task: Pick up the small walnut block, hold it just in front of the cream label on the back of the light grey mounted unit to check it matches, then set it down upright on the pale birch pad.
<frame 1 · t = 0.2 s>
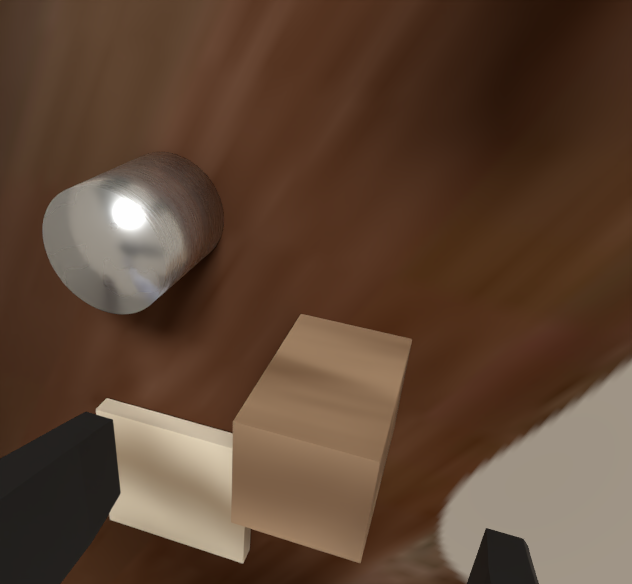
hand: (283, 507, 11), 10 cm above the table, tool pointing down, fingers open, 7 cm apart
birch pad: (180, 476, 26), on the table
round canister: (171, 209, 20), on the table
walnut block: (349, 371, 21), on the table
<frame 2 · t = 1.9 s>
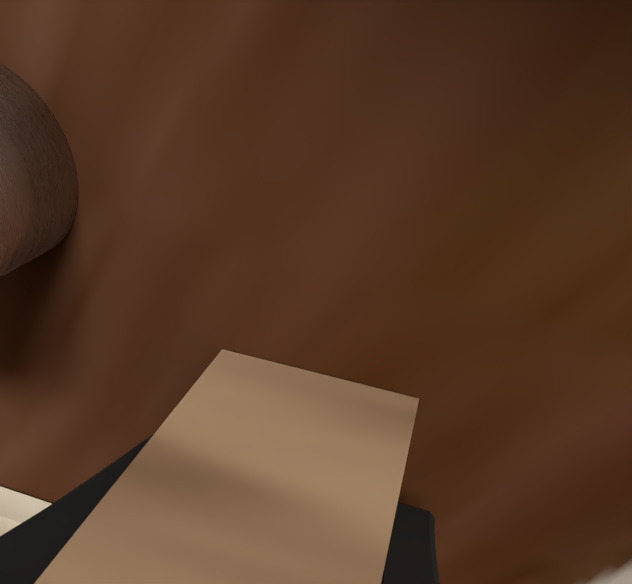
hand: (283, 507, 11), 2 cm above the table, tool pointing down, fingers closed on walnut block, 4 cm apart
birch pad: (66, 583, 17), on the table
walnut block: (308, 449, 12), on the table, touching gripper
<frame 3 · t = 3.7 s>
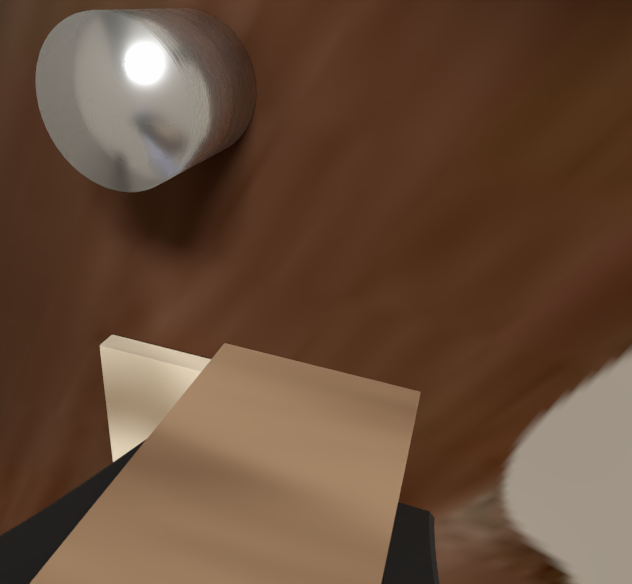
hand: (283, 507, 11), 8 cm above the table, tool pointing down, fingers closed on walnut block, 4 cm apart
birch pad: (197, 427, 23), on the table
round canister: (192, 85, 16), on the table
walnut block: (310, 443, 12), point 7 cm above the table, touching gripper
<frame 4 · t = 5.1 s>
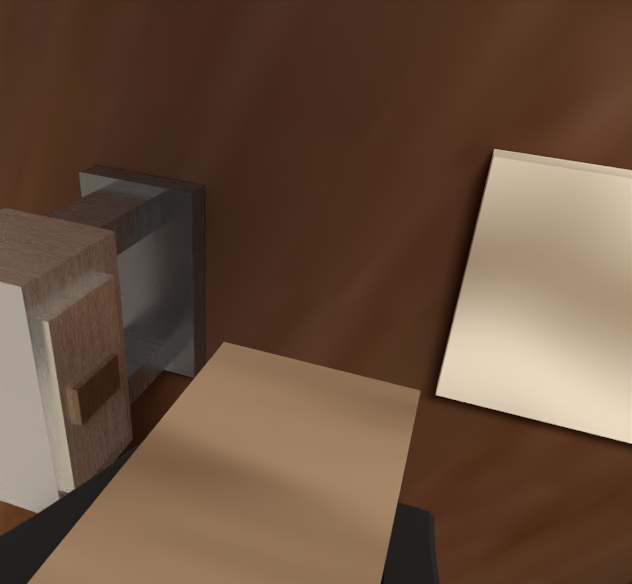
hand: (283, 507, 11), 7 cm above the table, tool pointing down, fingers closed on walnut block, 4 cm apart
birch pad: (598, 304, 15), on the table
mounted unit: (153, 271, 18), on the table
walnut block: (309, 442, 12), point 6 cm above the table, touching gripper
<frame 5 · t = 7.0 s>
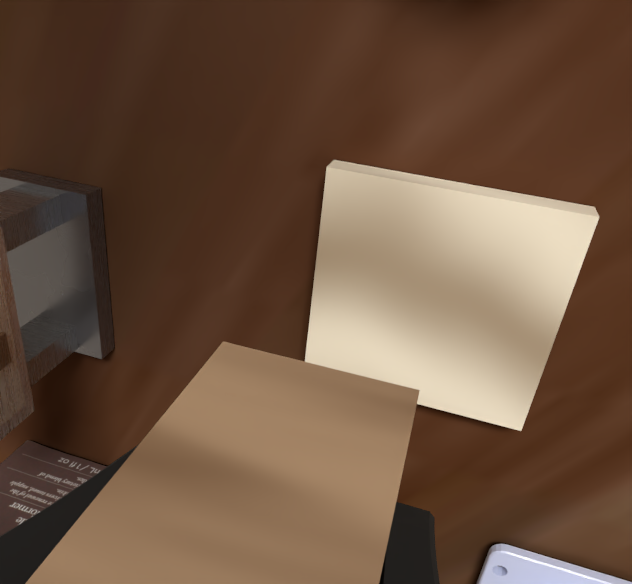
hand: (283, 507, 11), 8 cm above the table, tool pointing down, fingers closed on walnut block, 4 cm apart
box: (88, 480, 26), on the table
birch pad: (432, 294, 17), on the table
mounted unit: (64, 263, 21), on the table
walnut block: (309, 441, 12), point 7 cm above the table, touching gripper
when the fingers open (3 cm above the table, at t = 8.6 s): walnut block stays where it is, resting on birch pad.
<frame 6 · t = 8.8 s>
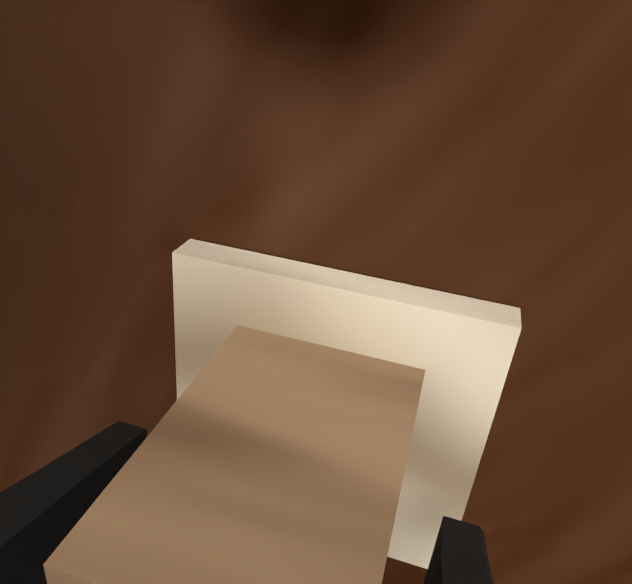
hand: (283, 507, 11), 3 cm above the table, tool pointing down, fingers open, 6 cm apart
birch pad: (327, 403, 13), on the table
walnut block: (319, 421, 13), point 1 cm above the table, touching birch pad
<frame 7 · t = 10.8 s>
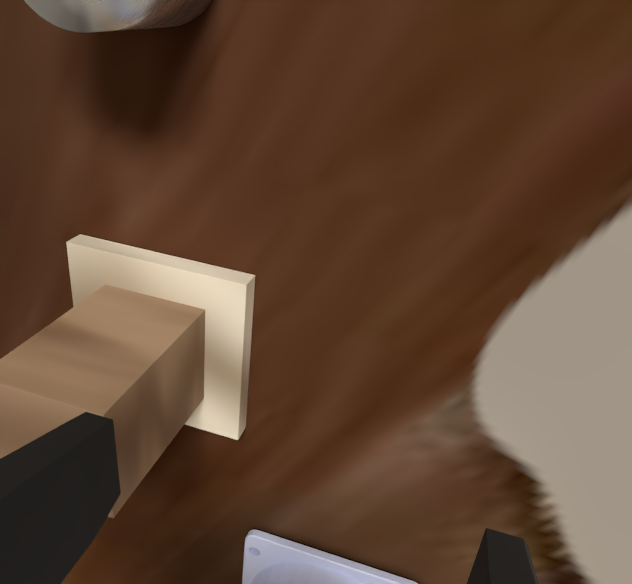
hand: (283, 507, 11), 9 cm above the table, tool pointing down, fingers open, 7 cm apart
birch pad: (166, 335, 22), on the table
walnut block: (156, 342, 21), point 1 cm above the table, touching birch pad
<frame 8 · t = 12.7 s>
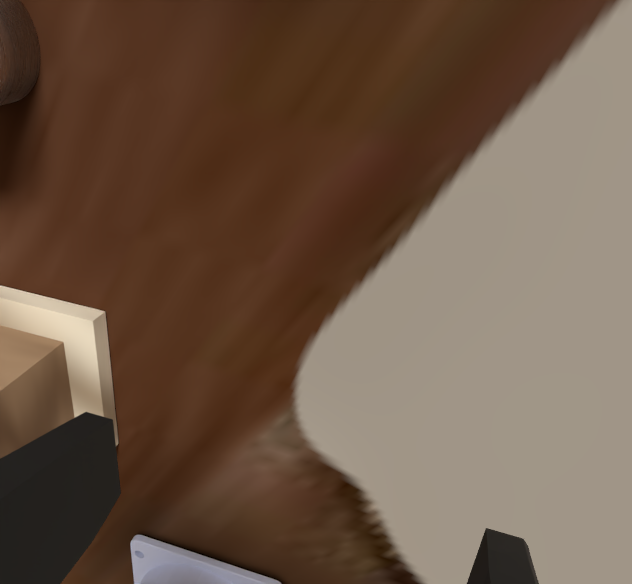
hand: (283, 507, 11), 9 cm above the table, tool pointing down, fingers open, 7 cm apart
birch pad: (41, 362, 25), on the table
walnut block: (28, 370, 24), point 1 cm above the table, touching birch pad
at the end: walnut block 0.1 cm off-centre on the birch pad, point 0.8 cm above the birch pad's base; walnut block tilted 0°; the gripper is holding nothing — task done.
